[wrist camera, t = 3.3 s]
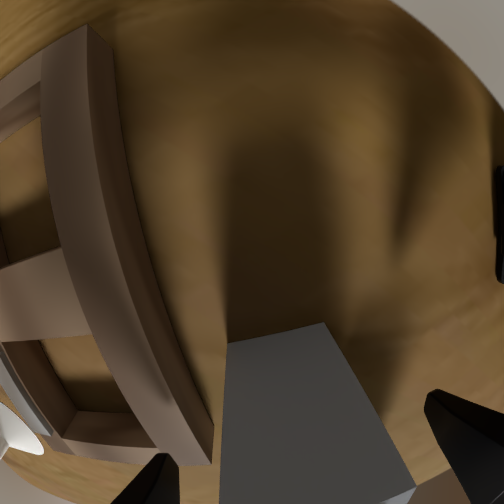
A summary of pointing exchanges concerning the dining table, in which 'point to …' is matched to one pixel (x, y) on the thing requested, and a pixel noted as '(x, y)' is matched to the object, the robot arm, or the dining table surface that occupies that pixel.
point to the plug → (303, 427)
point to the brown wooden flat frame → (91, 273)
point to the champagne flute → (16, 434)
